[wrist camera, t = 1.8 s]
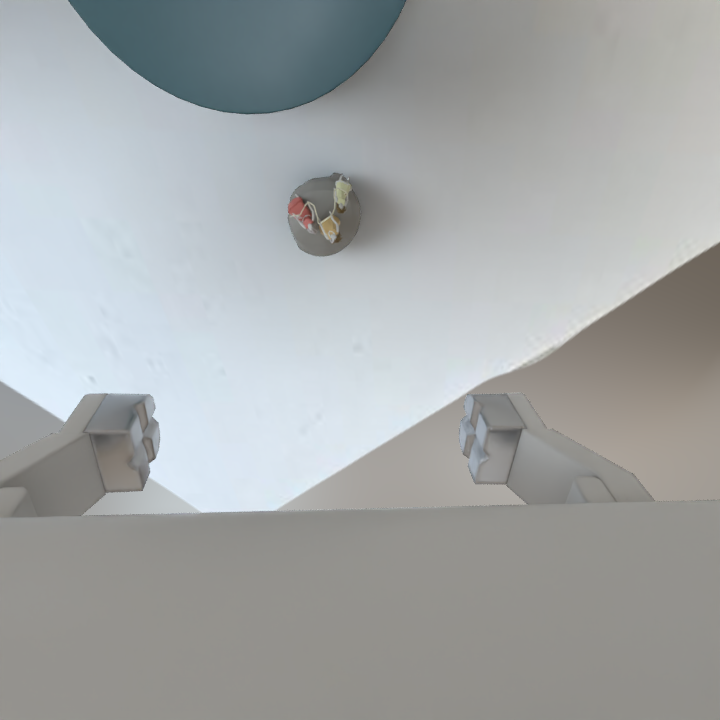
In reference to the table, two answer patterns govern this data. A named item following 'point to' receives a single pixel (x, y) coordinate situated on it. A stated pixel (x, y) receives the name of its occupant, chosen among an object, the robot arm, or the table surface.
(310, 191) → the figurine
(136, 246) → the table surface
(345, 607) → the robot arm
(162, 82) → the pot lid
